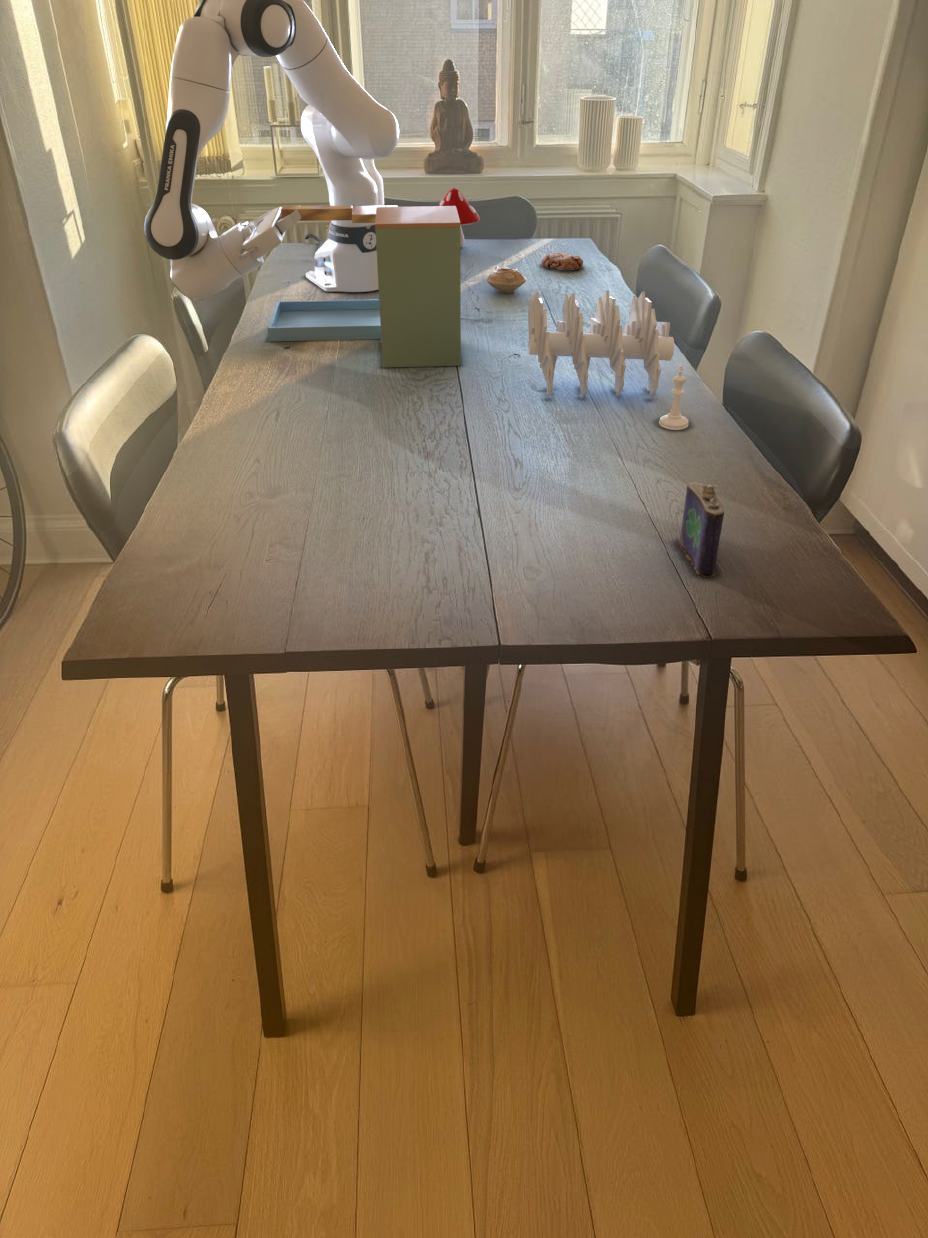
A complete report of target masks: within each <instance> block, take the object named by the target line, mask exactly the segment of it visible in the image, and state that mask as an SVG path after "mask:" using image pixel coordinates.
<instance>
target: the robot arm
mask: <svg viewBox="0 0 928 1238" xmlns="http://www.w3.org/2000/svg"><path fill="white" fill-rule="evenodd" d="M325 31H326V30H325V29H324V27H323V26H322V24H321V22H320V21H319V19H318V18H317V17H316V16H315V14H314V12H313V11H312V9H311V8H310V7H309V5H308V4H307V3H306V1H304V0H198V1H197V5H196V7H195V11H194V14H193V15H192V17H188V18H186V19H185V20H184V21H182V23H181V24H180V26H179V28H178V32H177V36H176V40H175V43H174V49H173V54H172V60H171V67H170V77H169V89H168V102H167V103H168V105H167V106H168V107H167V116H166V117H167V118H166V129H165V135H164V140H163V147H162V148H163V149H162V154H161V162H160V168H159V175H158V184H157V190H156V194H155V197H154V199H153V202H152V204H151V206H150V208H149V210H148V211H147V212H146V215H145V217H144V222H143V224H144V225H143V233H144V236H145V239H146V241H147V243H148V245H149V246H150V248H151V249H152V251H153V252H155V254H157V255H158V256H160V257H161V258H164V259H166V260H170V275H169V276H170V279H171V282H172V284H173V285H174V287H175V288H176V289H177V291H179V293H181V294H182V295H183V296H184V297H186V298H187V299H189V300H192V301H195V302H201V301H202V302H203V301H205V300H208V299H210V298H212V297H214V296H215V295H217V294H220V293H221V292H222V291H224V290H225V289H227V288H229V287H230V285H231V284H232V283H233V282H234V281H236V280H238V279H240V278H243V277H246V276H247V275H248V274H250V273H253V271H255V270H256V269H258V268H259V267H261V266H263V265H264V264H265V258H264V256H265V255H267V254H268V253H269V252H271V251H272V250H274V249H276V248H277V247H279V246H280V245H281V244H282V243H283V240H284V237H285V235H286V233H287V231H289V229H290V228H291V227H293V226H294V225H295V224H296V223H298V222H300V221H299V220H301V218H302V215H301V213H300V212H299V210H295V211H293V212H292V213H290V214H289V215H288V216H286V217H285V218H283V219H282V217H281V208H282V206H278V207H275V208H272V209H271V210H268V211H267V212H265V213H263V214H262V215H259V216H258V217H256V218H254V219H253V220H251V221H248V220H245V221H243V222H242V223H236V224H235V225H234V226H232V227H230V228H229V229H228V230H226V231H224V232H223V233H222V234H218V231H217V229H216V227H215V225H214V223H213V221H212V218H211V216H210V215H209V213H208V212H207V211H206V210H205V209H204V208H203V207H202V206H200V205H198V204H195V203H193V195H194V188H195V182H196V181H195V180H196V174H197V166H198V162H199V158H200V155H201V153H202V151H203V150H204V149H205V147H206V146H207V144H208V143H209V142H210V141H211V140H212V139H213V138H214V137H216V136H217V135H218V134H219V133H220V132H221V131H222V130H223V127H224V125H225V121H226V118H227V113H228V110H229V103H230V92H231V84H232V69H233V66H234V64H235V62H236V60H237V58H238V57H239V56H242V57H261V58H272V57H276V59H277V61H278V63H279V64H280V66H281V68H282V69H283V71H284V73H285V74H286V76H287V77H288V79H289V81H290V82H291V84H292V86H293V87H294V90H295V91H296V92H297V94H298V96H299V97H300V99H302V101H304V103H306V106H305V107H304V109H303V111H302V113H301V117H300V130H301V134H302V135H301V136H302V137H303V139H304V140H305V142H306V144H307V145H309V147H310V149H312V151H313V152H314V154H315V156H316V158H317V160H318V162H319V164H320V167H321V170H322V172H323V176H324V179H325V183H326V186H327V192H328V201H329V206H378V192H377V186H376V184H375V182H374V180H373V179H372V178H371V177H370V176H369V175H368V173H367V172H366V170H365V168H364V166H363V163H362V160H361V159H366V160H372V159H374V160H379V159H385V158H388V157H390V156H391V155H392V154H393V153H394V151H395V150H396V148H397V146H398V143H399V139H400V128H399V127H400V126H399V123H398V119H397V118H396V116H395V114H394V113H393V112H392V111H390V110H389V109H388V108H386V107H385V106H383V105H382V104H381V103H379V102H377V100H376V99H374V98H373V97H372V96H371V95H370V94H369V93H368V91H367V90H365V88H364V87H363V86H362V85H361V84H360V83H359V82H358V81H357V80H356V79H355V77H354V76H353V75H352V74H351V73H350V72H349V70H348V69H347V68H346V66H345V64H344V63H343V61H342V59H341V58H340V56H339V55H338V53H337V50H336V49H335V48H334V45H333V44H332V42H331V40H330V38H329V36H328V35H327V33H326V32H325ZM296 206H301V205H300V204H297V205H296ZM325 225H327V226H326V227H325V228H326V229H328V233H327V239H326V240H325V241H323V240H322V239H321V238H319V236H317V235H315V234H313V233H307V234H306V235H305V237H304V240H309V238H312V239H313V240H314V241H316V242H317V243H318V245H317V250H316V251H315V253H314V258H313V264H314V269H312V270H309V271H307V272H305V278H306V279H307V280H309V281H310V282H312V283H313V284H315V285H316V286H317V287H319V288H320V289H322V290H323V291H325V292H331V293H333V292H343V293H365V292H374V291H379V287H378V267H377V248H376V228H375V223H352V220H332V221H330V222H327V223H325Z"/></svg>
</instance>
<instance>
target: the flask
mask: <svg viewBox="0 0 928 1238" xmlns="http://www.w3.org/2000/svg"><path fill="white" fill-rule="evenodd" d="M715 488H716V489H717V488H719V484H716V483H713V484H712V483H708V484H705V483H701V482H698V481H693V482H689V483H687V484H686V491H685V498H684V504H683V505H684V507H683V508H684V509H683V512H682V513H683V514H682V520H681V526H680V532H679V539H678V547H679V549H680V550H682V551H683V552H684V555H685V558H686V559H687V560H688V561H691V563H690V564H691V565H692V566H693V569H694V570H695V572H696V574H697V575H699V576H701V577H703V578H705V577H706V578H709V577H713V576H715V574H716V569H717V560H718V554H719V553H718V552H719V546H720V539H721V533H722V530H723V529H722V528H723V521H724V517H725V510H724V508H723V505H722V502H721V500H720V499H719V498H718V495H717V493H716V492H715Z"/></svg>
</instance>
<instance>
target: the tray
mask: <svg viewBox="0 0 928 1238" xmlns="http://www.w3.org/2000/svg"><path fill="white" fill-rule="evenodd" d="M267 337H268V342H305V341H307V342H309V341H311V342H312V341H350V340H351V341H355V340H381V326H380V306H379V298H369V299H368V298H367V299H366V298H365V299H362V298H361V299H360V298H359V299H317V300H316V299H315V300H314V299H313V300H276V301H275V305H274V308H273V310H272V314H271V317H270V320H269V322H268V325H267Z"/></svg>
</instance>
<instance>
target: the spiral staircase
mask: <svg viewBox="0 0 928 1238" xmlns="http://www.w3.org/2000/svg"><path fill="white" fill-rule="evenodd" d="M528 302H529V303H528V309H527V323H528V324H527V325H528V326H527V327H528V355H529V356H530V355H531V356H537V361H538V363H539V369H541V371H542V374H543V377H544V380H545V382H546V398H548V399H549V398H551V395H552V392H553V388H554V377H555V370H556V363H557V360H558V358H559V357H572V365H573V369H574V370H575V372H576V375H577V378H578V381H579V390H580V393H579V394H580V395H579V396H580V399H584V397H585V395H586V393H587V392H588V379H589V368H590V367H589V366H590V362H591V358H599V359H608V360H609V368H610V369H611V370H612V372H614V388H613V392H615V396H616V397H620V396H621V393H622V390H623V388H624V385H625V378H624V377H625V373H626V367H627V365H626V362H625V361H626V360H642V361H643V368H644V370H645V372H646V373H647V385H646V386H647V387H646V391H647V392H649V398H653V397H654V396H655V393H656V392H657V390H658V388H659V381H660V380H659V379H660V376H661V371H662V369H661V366H660V362H659V361H665V362H667V361H668V362H669V361H672V359H673V357H674V352H675V339H674V337H673V336H670V328H671V322H670V321H657V316H656V308H653V307H652V305H653V302H652V301H651V299H650V298H649V297H646V291H644V290H642V291H641V293H640V294H639V295H638V297H637V295H633V296H632V301H631V304H630V308H629V312H628V317H629V322H627V323H623V324H622V325H621V315H620V309H619V308H620V307H619V305H618V304H616V298H615V297H613V296H611V295H610V290H605V293H604V295H603V297H602V296H598V298H597V302H596V306H595V307H596V308H595V313H594V317H591V318H590V325H589V331H588V332H584V320H583V319H584V317H583V315H584V314H583V313H582V312H580V307H581V306H580V303H579V301H578V299H576V293H574V292H572V293H571V294H570V296H569V294H565V295H564V300H563V304H562V310H561V317H562V318H561V319H562V320H556V331H550V330H549V331H548V330H547V329H548V318H547V317H548V316H547V309H544V302H543V299H542V297H540V292H539V291H536V292H535V294H534V295H533V294H532V295H530V296H529V301H528Z"/></svg>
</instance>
